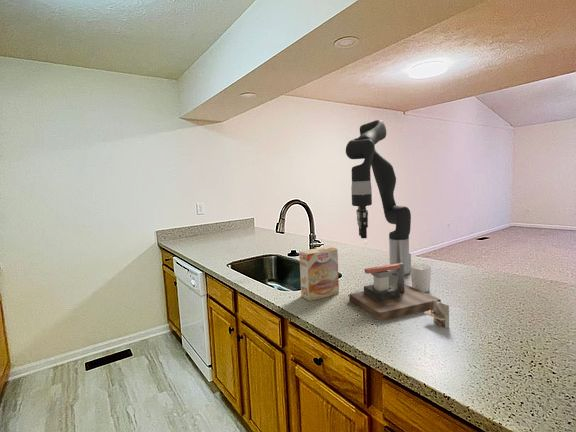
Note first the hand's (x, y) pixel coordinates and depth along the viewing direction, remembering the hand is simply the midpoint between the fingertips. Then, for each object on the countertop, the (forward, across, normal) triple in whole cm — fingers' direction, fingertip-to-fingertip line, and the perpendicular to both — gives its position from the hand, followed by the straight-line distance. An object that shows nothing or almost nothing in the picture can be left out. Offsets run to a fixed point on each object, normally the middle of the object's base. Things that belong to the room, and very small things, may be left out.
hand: (362, 236), depth 127 cm
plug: (+22, +4, +6) cm, 23 cm away
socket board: (+25, +5, +10) cm, 28 cm away
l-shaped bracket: (+22, +3, +8) cm, 24 cm away
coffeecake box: (+26, -6, -18) cm, 32 cm away
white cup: (+26, -10, +25) cm, 37 cm away
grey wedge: (+26, +22, +21) cm, 40 cm away
